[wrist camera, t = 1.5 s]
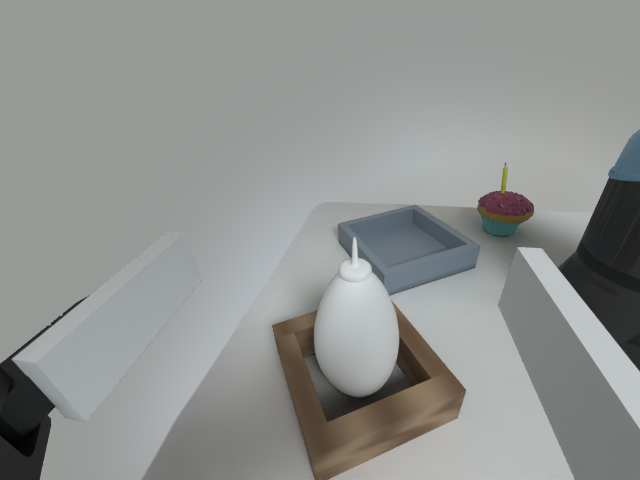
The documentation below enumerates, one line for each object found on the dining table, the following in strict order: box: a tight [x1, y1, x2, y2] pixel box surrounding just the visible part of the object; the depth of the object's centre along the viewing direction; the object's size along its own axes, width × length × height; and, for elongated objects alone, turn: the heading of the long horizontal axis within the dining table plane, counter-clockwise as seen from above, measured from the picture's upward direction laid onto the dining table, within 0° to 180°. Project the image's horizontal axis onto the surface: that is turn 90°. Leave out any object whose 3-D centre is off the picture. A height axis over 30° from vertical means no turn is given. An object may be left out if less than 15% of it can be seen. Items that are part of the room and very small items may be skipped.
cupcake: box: [477, 163, 534, 236], centre depth 52 cm, size 9×8×12 cm
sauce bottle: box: [314, 237, 399, 397], centre depth 27 cm, size 8×8×18 cm
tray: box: [338, 205, 480, 295], centre depth 50 cm, size 16×16×4 cm
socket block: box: [272, 300, 466, 480], centre depth 31 cm, size 14×14×4 cm
